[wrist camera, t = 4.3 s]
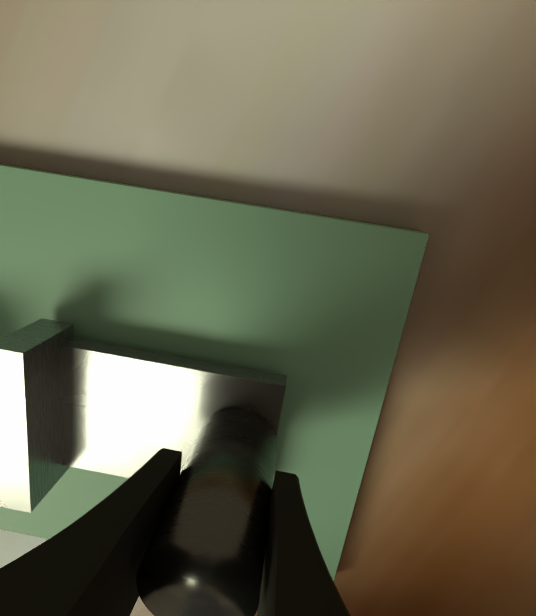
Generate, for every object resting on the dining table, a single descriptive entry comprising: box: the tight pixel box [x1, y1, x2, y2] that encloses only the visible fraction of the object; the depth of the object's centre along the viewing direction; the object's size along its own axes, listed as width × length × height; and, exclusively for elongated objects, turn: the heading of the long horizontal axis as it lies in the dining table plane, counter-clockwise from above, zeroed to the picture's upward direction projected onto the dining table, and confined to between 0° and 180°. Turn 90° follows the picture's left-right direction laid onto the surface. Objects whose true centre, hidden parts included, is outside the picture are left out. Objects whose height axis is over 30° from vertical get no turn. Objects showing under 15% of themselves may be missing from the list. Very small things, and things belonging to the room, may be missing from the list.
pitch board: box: [0, 164, 429, 582], centre depth 16 cm, size 26×16×1 cm, turn 82°
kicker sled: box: [0, 318, 287, 616], centre depth 12 cm, size 9×6×6 cm, turn 82°
